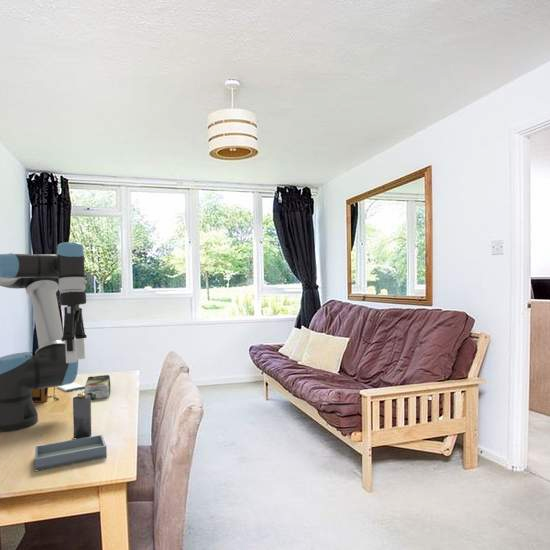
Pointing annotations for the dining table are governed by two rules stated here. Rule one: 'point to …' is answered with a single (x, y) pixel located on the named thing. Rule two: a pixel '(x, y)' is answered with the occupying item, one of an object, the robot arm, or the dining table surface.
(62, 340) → the robot arm
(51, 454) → the trough
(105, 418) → the dining table surface
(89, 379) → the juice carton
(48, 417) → the dining table surface
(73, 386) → the external hard drive
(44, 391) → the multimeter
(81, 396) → the cell
